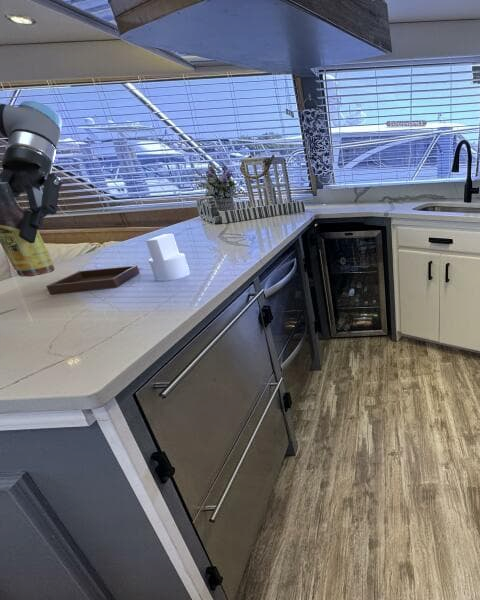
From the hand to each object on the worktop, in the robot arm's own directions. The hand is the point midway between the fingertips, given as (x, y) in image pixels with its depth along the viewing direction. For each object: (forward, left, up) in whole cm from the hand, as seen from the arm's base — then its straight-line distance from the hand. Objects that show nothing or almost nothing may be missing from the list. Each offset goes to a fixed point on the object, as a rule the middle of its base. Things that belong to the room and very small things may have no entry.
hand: (6, 240), depth 68 cm
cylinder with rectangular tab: (+19, +22, -17) cm, 34 cm away
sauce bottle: (0, +4, -9) cm, 9 cm away
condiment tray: (-1, +23, -17) cm, 28 cm away
